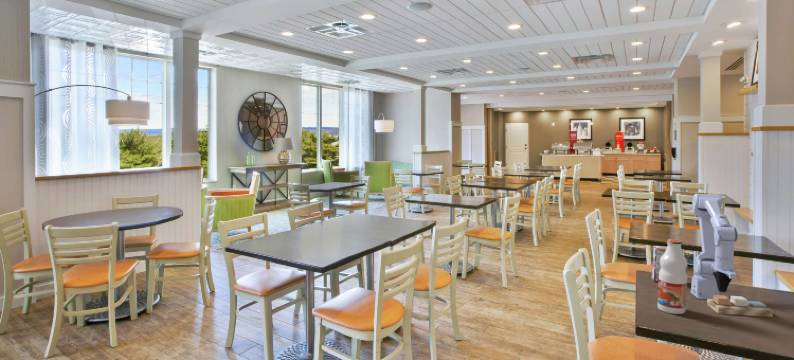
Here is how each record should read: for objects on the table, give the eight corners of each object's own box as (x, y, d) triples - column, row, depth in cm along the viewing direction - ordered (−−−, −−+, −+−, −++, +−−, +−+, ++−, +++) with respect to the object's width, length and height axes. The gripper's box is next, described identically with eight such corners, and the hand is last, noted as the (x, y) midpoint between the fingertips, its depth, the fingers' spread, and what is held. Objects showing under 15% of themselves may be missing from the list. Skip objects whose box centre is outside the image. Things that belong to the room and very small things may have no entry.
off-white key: (735, 305, 168) (736, 299, 168) (730, 301, 172) (730, 295, 172) (747, 306, 167) (748, 300, 167) (741, 302, 171) (742, 296, 171)
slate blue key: (753, 310, 167) (753, 304, 167) (747, 307, 171) (747, 300, 170) (765, 311, 166) (765, 305, 166) (759, 307, 170) (759, 301, 170)
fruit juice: (691, 313, 167) (695, 242, 165) (670, 315, 166) (673, 243, 163) (672, 304, 177) (675, 236, 174) (651, 306, 175) (654, 238, 173)
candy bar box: (653, 282, 204) (655, 248, 203) (651, 279, 209) (652, 245, 208) (681, 284, 201) (683, 249, 199) (678, 281, 205) (680, 247, 204)
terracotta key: (718, 304, 169) (718, 298, 169) (713, 300, 173) (713, 294, 173) (729, 305, 168) (730, 299, 168) (724, 301, 172) (724, 295, 172)
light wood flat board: (718, 313, 167) (718, 307, 167) (706, 304, 176) (707, 298, 176) (772, 317, 163) (772, 310, 163) (758, 307, 172) (758, 301, 172)
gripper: (746, 262, 161) (744, 298, 162) (726, 252, 175) (724, 285, 177) (724, 261, 163) (722, 297, 164) (706, 252, 177) (704, 284, 178)
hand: (722, 291), depth 170 cm, fingers closed
